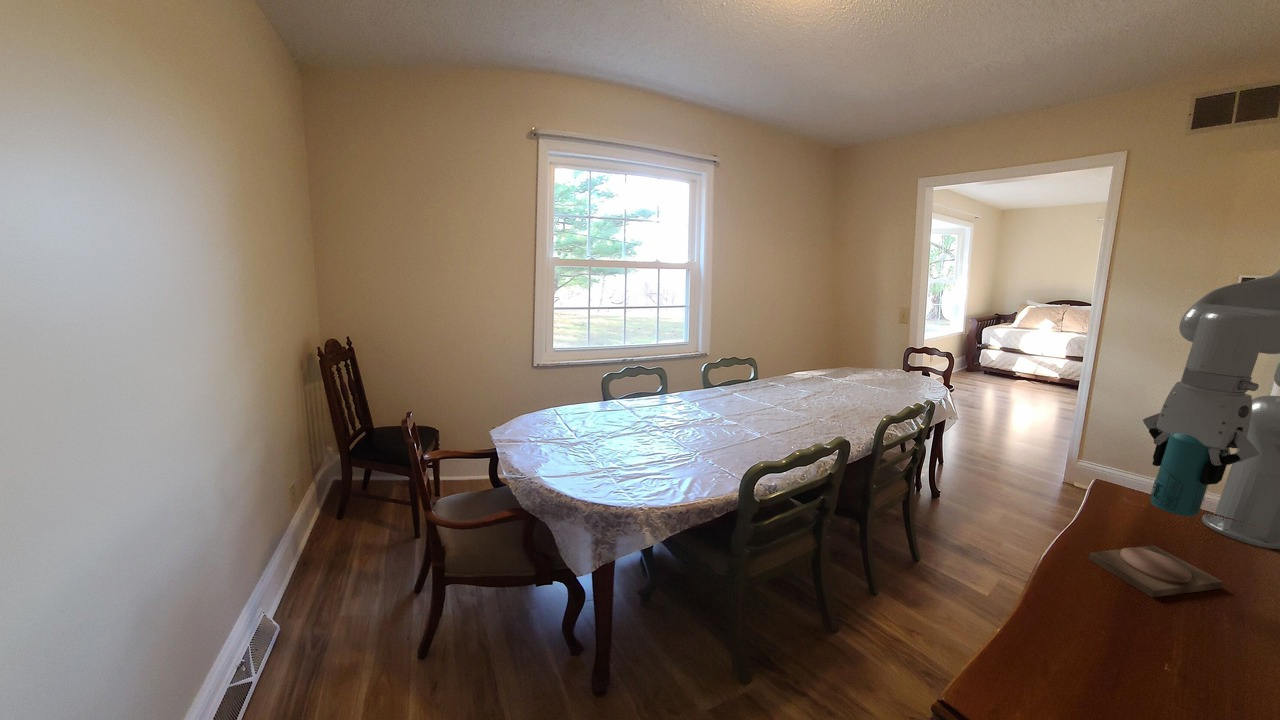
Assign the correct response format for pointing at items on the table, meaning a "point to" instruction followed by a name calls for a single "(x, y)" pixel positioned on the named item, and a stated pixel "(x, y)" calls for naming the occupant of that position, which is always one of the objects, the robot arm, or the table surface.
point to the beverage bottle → (1181, 476)
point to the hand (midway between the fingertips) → (1183, 473)
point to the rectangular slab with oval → (1155, 571)
